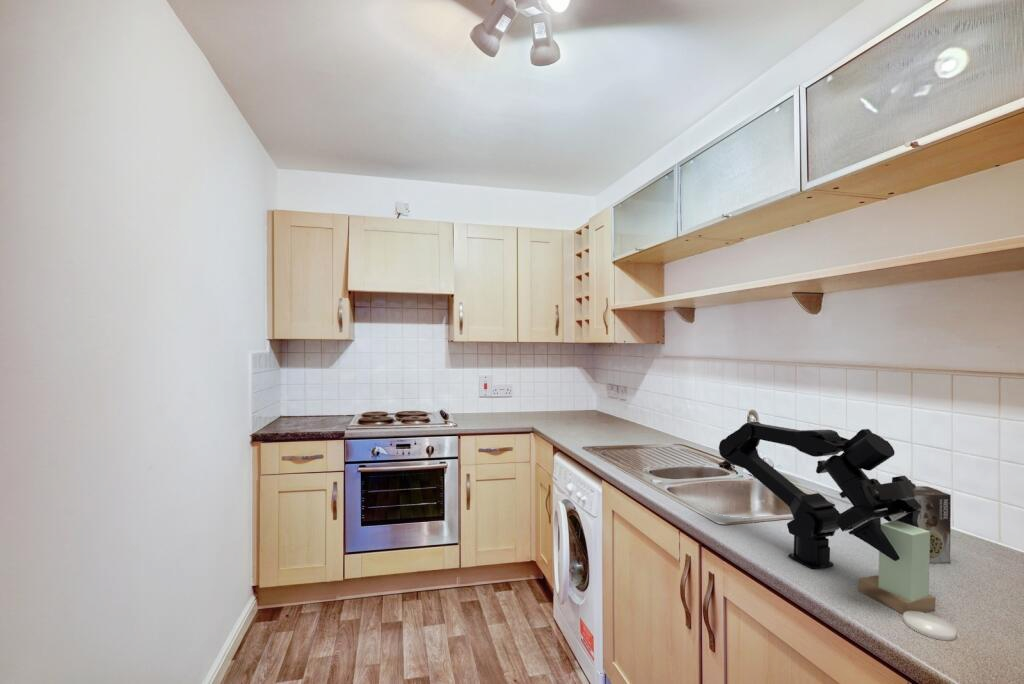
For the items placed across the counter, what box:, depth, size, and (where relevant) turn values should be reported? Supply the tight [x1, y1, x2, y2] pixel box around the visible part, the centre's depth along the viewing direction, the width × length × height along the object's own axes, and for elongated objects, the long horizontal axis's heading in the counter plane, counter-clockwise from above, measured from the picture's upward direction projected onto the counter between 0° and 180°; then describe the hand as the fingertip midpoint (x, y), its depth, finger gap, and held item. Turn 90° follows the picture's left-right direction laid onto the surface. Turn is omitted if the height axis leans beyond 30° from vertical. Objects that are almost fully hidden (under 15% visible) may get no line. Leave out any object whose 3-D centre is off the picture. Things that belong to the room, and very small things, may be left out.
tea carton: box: [878, 521, 930, 602], centre depth 90 cm, size 6×6×12 cm
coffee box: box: [892, 485, 952, 564], centre depth 110 cm, size 9×6×16 cm
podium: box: [857, 574, 936, 615], centre depth 91 cm, size 9×8×2 cm
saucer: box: [902, 611, 957, 642], centre depth 82 cm, size 7×7×1 cm
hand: (912, 556), depth 88 cm, fingers open, 9 cm apart
